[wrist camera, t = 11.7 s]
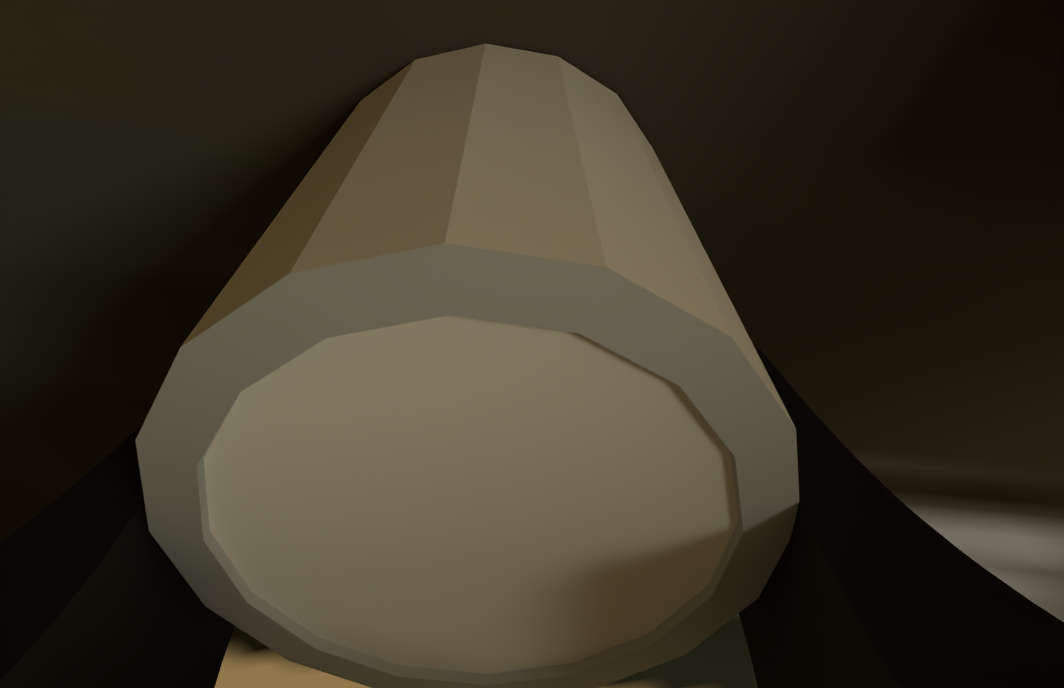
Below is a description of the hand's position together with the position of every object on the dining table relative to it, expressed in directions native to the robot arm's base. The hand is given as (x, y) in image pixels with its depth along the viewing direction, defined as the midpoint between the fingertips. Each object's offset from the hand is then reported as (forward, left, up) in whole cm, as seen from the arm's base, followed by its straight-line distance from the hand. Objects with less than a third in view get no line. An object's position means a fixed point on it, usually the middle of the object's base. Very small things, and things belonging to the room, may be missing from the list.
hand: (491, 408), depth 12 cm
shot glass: (+1, -1, -4) cm, 4 cm away
